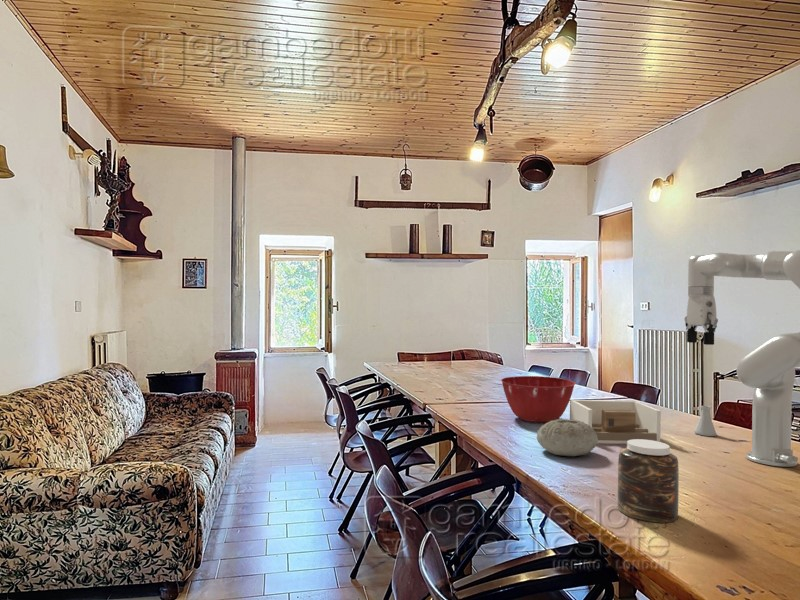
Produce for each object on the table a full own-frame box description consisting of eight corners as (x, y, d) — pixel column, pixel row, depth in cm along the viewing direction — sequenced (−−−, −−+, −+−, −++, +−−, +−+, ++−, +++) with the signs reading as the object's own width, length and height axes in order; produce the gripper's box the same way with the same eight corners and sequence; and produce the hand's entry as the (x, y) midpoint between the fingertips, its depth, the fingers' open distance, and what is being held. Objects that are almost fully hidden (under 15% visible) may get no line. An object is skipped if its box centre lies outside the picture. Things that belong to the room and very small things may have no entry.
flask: (710, 432, 195) (711, 404, 195) (721, 437, 188) (721, 408, 188) (690, 431, 196) (690, 404, 196) (699, 436, 189) (700, 408, 189)
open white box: (660, 444, 176) (660, 410, 177) (588, 443, 176) (588, 409, 176) (635, 431, 194) (635, 401, 195) (569, 430, 194) (570, 399, 194)
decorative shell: (525, 447, 170) (526, 415, 170) (573, 444, 175) (574, 413, 175) (558, 463, 153) (559, 428, 153) (610, 459, 158) (611, 425, 158)
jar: (659, 502, 123) (660, 437, 123) (688, 523, 111) (690, 451, 111) (609, 502, 122) (610, 436, 123) (633, 523, 111) (634, 450, 111)
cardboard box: (635, 439, 178) (636, 412, 178) (605, 439, 178) (606, 412, 178) (630, 436, 182) (630, 410, 182) (601, 436, 181) (601, 409, 182)
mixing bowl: (542, 431, 192) (543, 388, 192) (485, 416, 215) (486, 378, 215) (589, 422, 209) (590, 382, 209) (531, 409, 232) (532, 374, 232)
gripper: (728, 292, 171) (727, 345, 170) (697, 293, 188) (696, 341, 188) (704, 291, 170) (704, 345, 170) (675, 292, 188) (675, 341, 188)
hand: (700, 343), depth 179 cm, fingers open, 9 cm apart
